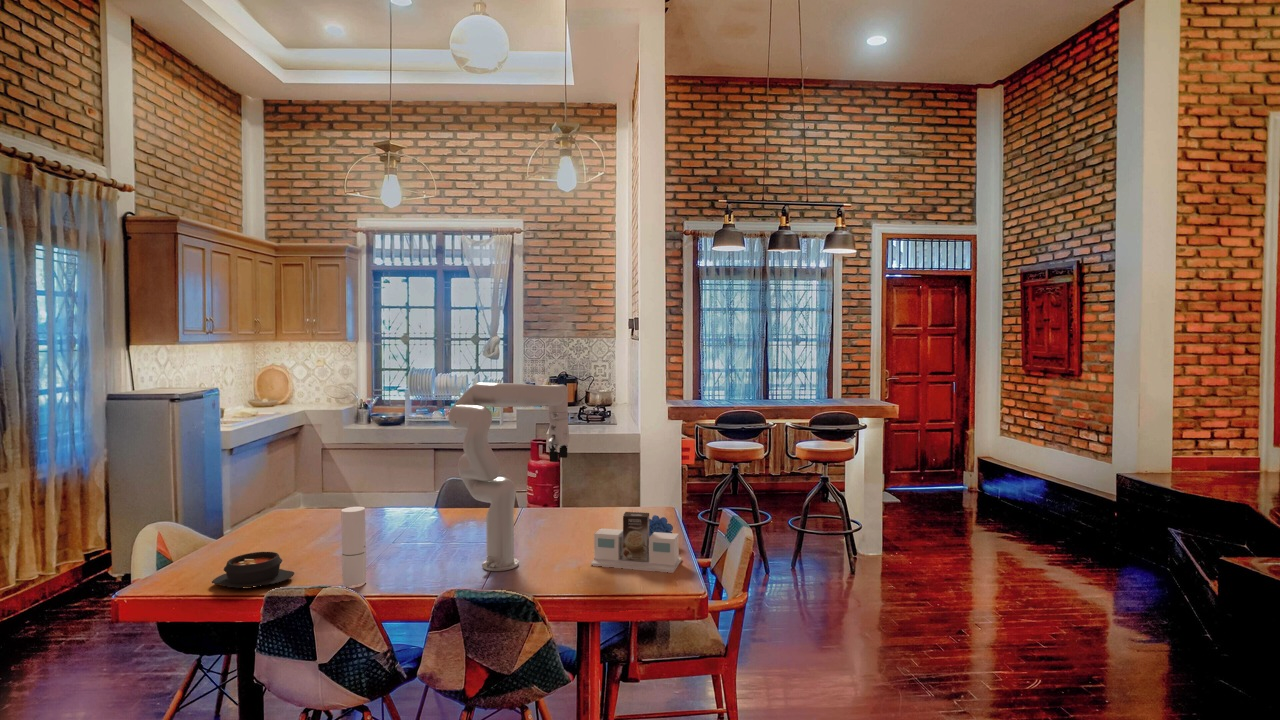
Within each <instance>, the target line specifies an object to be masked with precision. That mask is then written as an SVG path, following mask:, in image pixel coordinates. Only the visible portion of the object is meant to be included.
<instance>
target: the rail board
mask: <svg viewBox="0 0 1280 720" xmlns="http://www.w3.org/2000/svg"><path fill="white" fill-rule="evenodd" d="M679 535H680V534H679V533H674V532H672V533H660V532H654V533H653V534H652V535H651V536H650V537H649V558H648V561H647V562H645V561H624V560H623V529H616V528H615V529H614V528H599V529H598V530H596V532H595V533H594V534H593V536H594V541H593V542H594V547H593V548H594V558H593V560H592V561H591V562H590V565H593V566H592V567H598V566H602V567H601V568H609V567H614V568H613V569H621V568H623V570H632V569H633V570H634V571H635V570H636V571H646V572H655V571H660V572H659V573H667V572H668V573H670V574H674V572H676V569H677V568H678V566H680V564H681V562H682V560H683V559H682V557H680V556H679V555H680V550H679V549H680V548H679V546H680V544H679V543H680V542H679V538H680V536H679ZM668 573H667V574H668Z"/></svg>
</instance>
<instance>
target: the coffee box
mask: <svg viewBox="0 0 1280 720" xmlns="http://www.w3.org/2000/svg"><path fill="white" fill-rule="evenodd" d="M622 516H623V517H622V530H623V560H624V561H645V562H647V561H648V558H649V519H650V513H649V512H638V511H625V512H624V513H623V515H622Z"/></svg>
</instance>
